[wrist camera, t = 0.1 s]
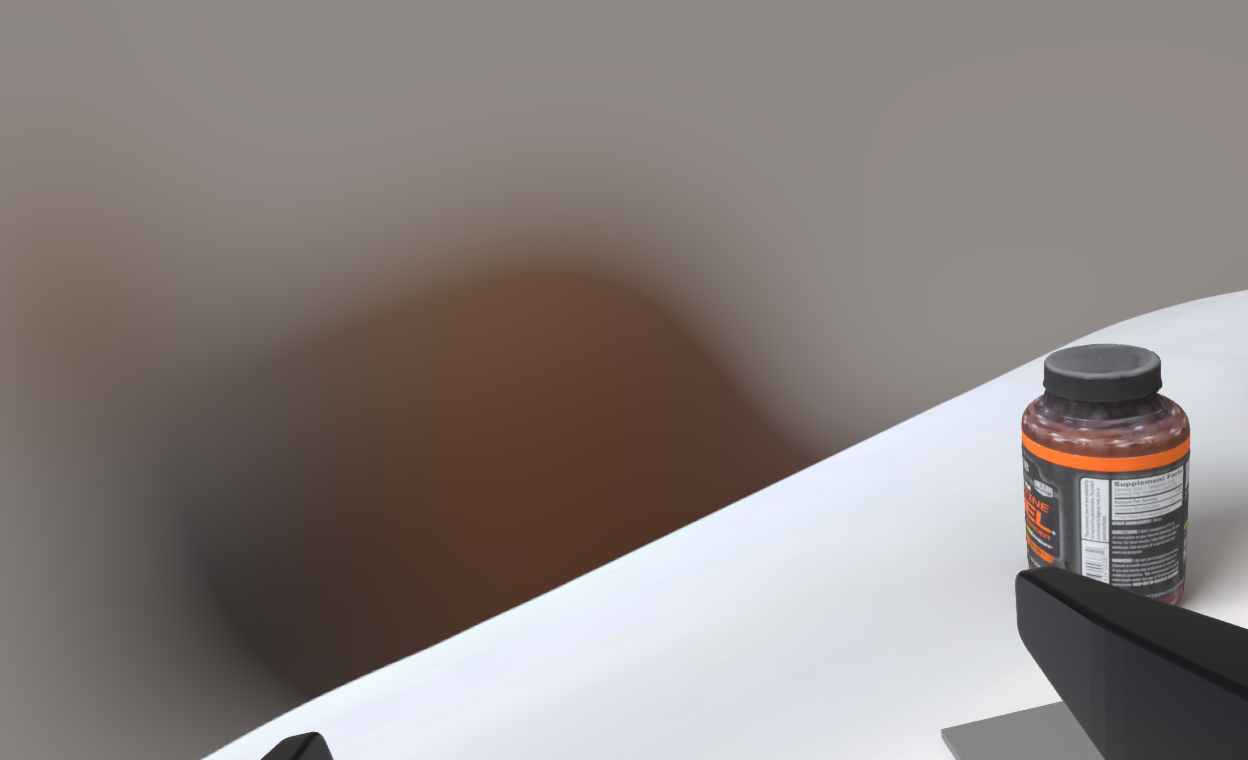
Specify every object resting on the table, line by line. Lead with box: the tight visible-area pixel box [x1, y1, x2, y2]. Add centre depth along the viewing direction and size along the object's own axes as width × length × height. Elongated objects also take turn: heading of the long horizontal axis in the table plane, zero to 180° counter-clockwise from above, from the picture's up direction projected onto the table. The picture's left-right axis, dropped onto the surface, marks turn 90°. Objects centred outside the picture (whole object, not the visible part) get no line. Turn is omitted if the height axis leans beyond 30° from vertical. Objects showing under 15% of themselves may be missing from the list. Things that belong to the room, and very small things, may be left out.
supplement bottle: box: [1022, 344, 1190, 605], centre depth 29 cm, size 6×6×11 cm
